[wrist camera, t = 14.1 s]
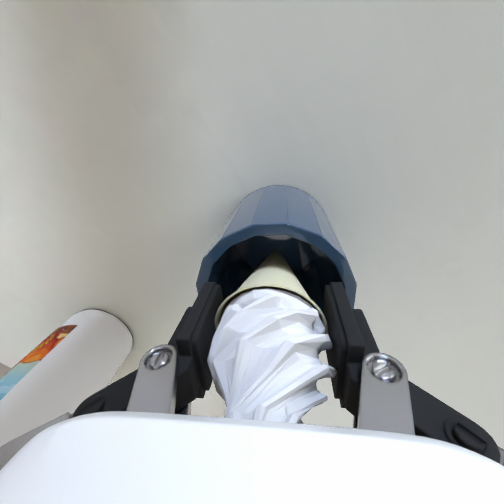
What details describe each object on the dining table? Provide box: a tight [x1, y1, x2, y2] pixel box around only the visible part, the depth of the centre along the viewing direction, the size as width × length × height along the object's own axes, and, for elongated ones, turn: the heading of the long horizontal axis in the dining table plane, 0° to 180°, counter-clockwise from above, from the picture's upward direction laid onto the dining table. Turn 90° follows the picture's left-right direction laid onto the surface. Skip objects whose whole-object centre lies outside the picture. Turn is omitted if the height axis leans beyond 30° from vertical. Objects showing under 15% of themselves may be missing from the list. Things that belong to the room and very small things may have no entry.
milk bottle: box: [0, 309, 133, 447], centre depth 21 cm, size 8×8×20 cm
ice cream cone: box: [207, 249, 337, 424], centre depth 11 cm, size 5×5×15 cm
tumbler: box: [196, 185, 357, 313], centre depth 17 cm, size 8×8×9 cm
